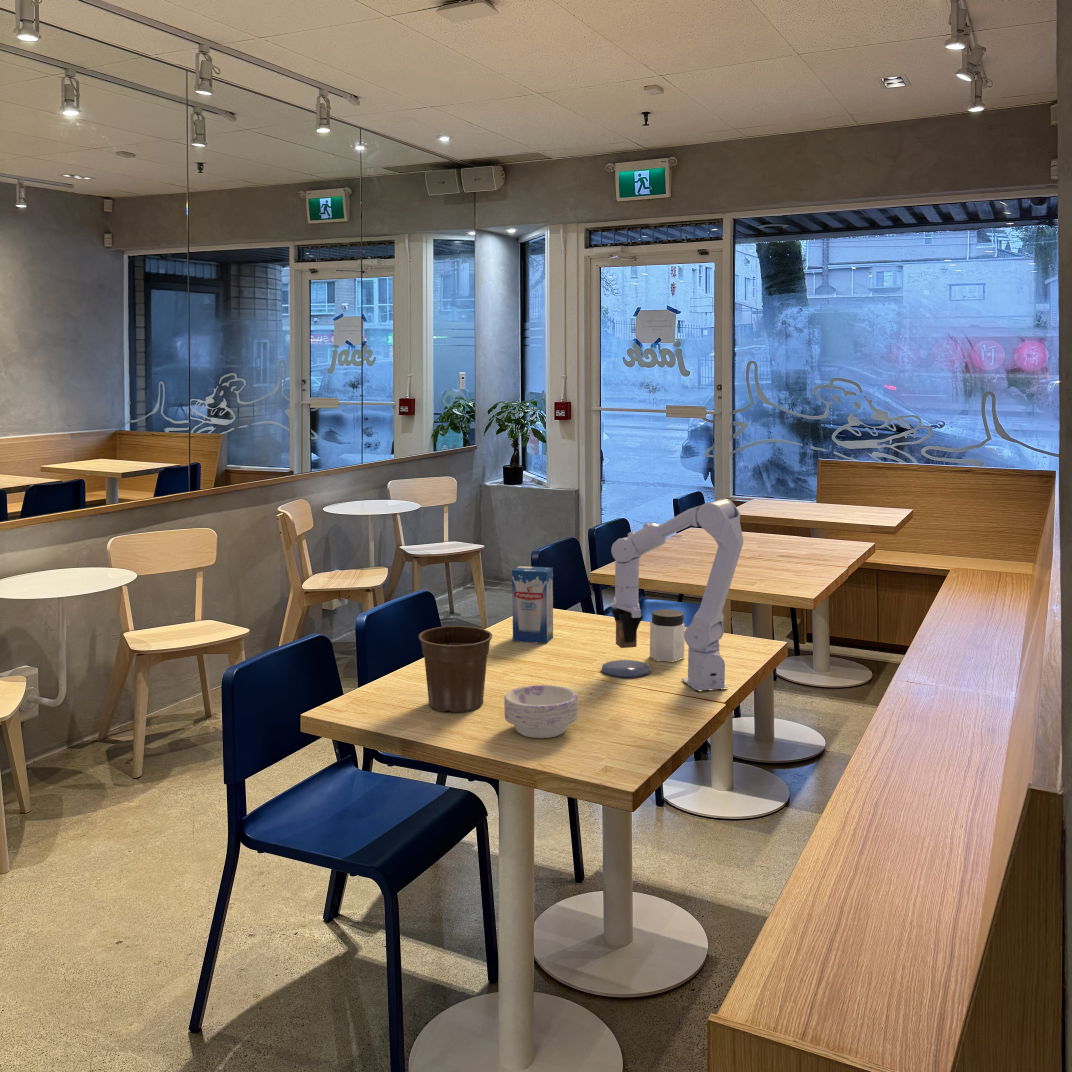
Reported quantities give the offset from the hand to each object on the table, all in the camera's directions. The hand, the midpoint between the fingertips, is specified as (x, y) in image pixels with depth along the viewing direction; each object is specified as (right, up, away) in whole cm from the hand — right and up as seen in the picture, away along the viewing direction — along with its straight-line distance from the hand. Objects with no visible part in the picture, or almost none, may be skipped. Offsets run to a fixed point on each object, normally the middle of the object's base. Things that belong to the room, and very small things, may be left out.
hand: (626, 639), depth 246 cm
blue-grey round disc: (0, -8, +1) cm, 8 cm away
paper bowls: (-21, -15, -40) cm, 47 cm away
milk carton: (-23, -3, +31) cm, 39 cm away
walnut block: (0, -1, 0) cm, 2 cm away
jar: (+12, -6, +12) cm, 18 cm away
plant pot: (-40, -12, -23) cm, 48 cm away
